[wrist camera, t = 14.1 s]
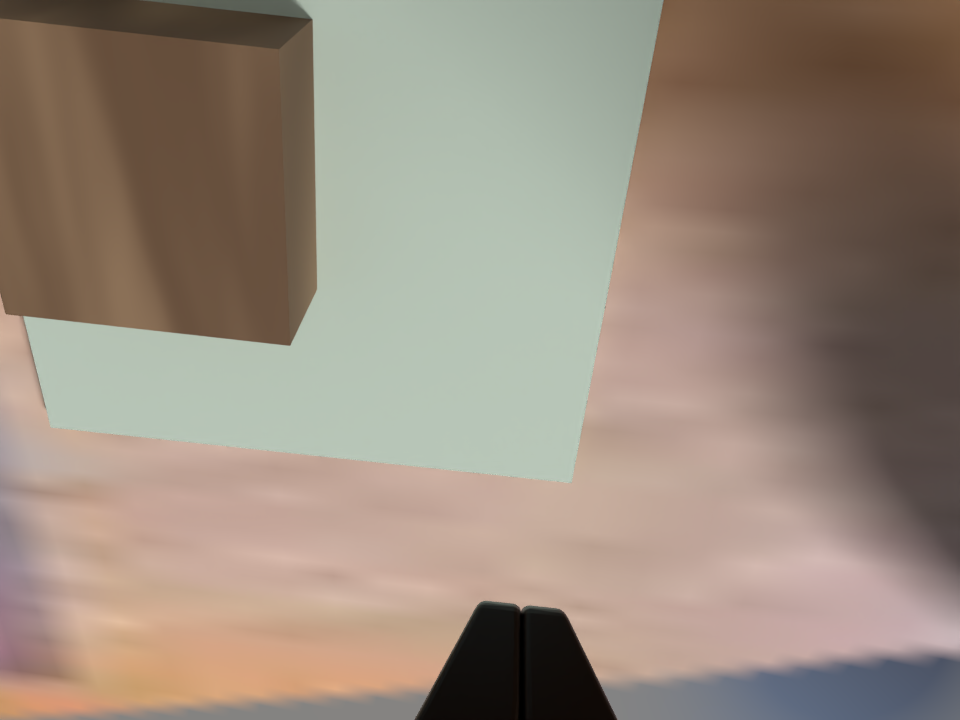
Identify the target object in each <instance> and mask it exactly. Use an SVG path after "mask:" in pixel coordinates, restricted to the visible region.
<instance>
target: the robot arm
mask: <svg viewBox="0 0 960 720" xmlns="http://www.w3.org/2000/svg"><path fill="white" fill-rule="evenodd" d="M415 720H617V718H616V716H615V714H614V711H613V709H612V708H611V706H610V703H609V701H608V699H607V697H606V695H605V693H604V691H603V689H602V687H601V685H600V683H599V681H598V679H597V677H596V675H595V672H594V670H593V668H592V666H591V664H590V662H589V660H588V658H587V656H586V654H585V652H584V650H583V648H582V646H581V644H580V642H579V640H578V638H577V636H576V633H575V631H574V629H573V627H572V625H571V623H570V621H569V619H568V617H567V616H566V614H565V613H564V612H563V611H562V610H560V609H557V608H548V607H538V606H526V607H524V608H523V609H522V610H520V608H519V607H518V606H517V605H515V604H511V603H501V602H492V601H483V602H481V603H479V604H478V605H477V607H476V608H475V610H474V612H473V614H472V616H471V617H470V619H469V621H468V623H467V625H466V627H465V628H464V630H463V632H462V634H461V636H460V638H459V639H458V641H457V643H456V645H455V647H454V649H453V650H452V652H451V654H450V656H449V658H448V660H447V661H446V663H445V665H444V667H443V669H442V671H441V672H440V674H439V676H438V678H437V680H436V681H435V683H434V685H433V687H432V689H431V691H430V692H429V694H428V696H427V698H426V700H425V702H424V704H423V705H422V707H421V709H420V711H419V713H418V714H417V716H416V718H415Z"/></svg>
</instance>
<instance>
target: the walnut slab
mask: <svg viewBox="0 0 960 720" xmlns="http://www.w3.org/2000/svg"><path fill="white" fill-rule="evenodd" d="M316 291H317V249H316V189H315V129H314V69H313V19H306V18H297V17H288V16H279V15H270V14H261V13H251V12H242V11H233V10H224V9H215V8H206V7H197V6H188V5H179V4H170V3H161V2H152V1H143V0H0V294H1V298H2V301H3V305H4V309H5V313H6V314H9V315H18V316H27V317H36V318H45V319H54V320H63V321H72V322H81V323H90V324H99V325H108V326H116V327H125V328H134V329H143V330H152V331H161V332H170V333H179V334H188V335H197V336H206V337H215V338H224V339H233V340H242V341H250V342H259V343H268V344H277V345H286V346H290V345H291V343H292V341H293V339H294V337H295V335H296V333H297V331H298V329H299V326H300V324H301V322H302V320H303V318H304V316H305V314H306V312H307V310H308V308H309V305H310V303H311V301H312V299H313V297H314V295H315V293H316Z"/></svg>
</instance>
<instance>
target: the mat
mask: <svg viewBox="0 0 960 720" xmlns="http://www.w3.org/2000/svg"><path fill="white" fill-rule="evenodd" d="M143 1H152V2H161V3H170V4H179V5H188V6H197V7H206V8H215V9H224V10H233V11H242V12H251V13H261V14H270V15H279V16H288V17H297V18H306V19H313V69H314V129H315V189H316V249H317V291H316V293H315V295H314V297H313V299H312V301H311V303H310V305H309V308H308V310H307V312H306V314H305V316H304V318H303V320H302V322H301V324H300V326H299V329H298V331H297V333H296V335H295V337H294V339H293V341H292V343H291V345H290V346H286V345H277V344H268V343H259V342H250V341H242V340H233V339H224V338H215V337H206V336H197V335H188V334H179V333H170V332H161V331H152V330H143V329H134V328H125V327H116V326H108V325H99V324H90V323H81V322H72V321H63V320H54V319H45V318H36V317H27V316H23V317H24V321H25V325H26V329H27V333H28V337H29V341H30V345H31V349H32V353H33V357H34V361H35V365H36V370H37V374H38V378H39V382H40V386H41V390H42V394H43V398H44V402H45V406H46V410H47V414H48V418H49V422H50V426H51V427H52V428H61V429H70V430H80V431H89V432H98V433H108V434H117V435H127V436H136V437H145V438H155V439H164V440H173V441H183V442H192V443H201V444H211V445H220V446H230V447H239V448H248V449H258V450H267V451H276V452H286V453H295V454H304V455H314V456H323V457H333V458H342V459H351V460H361V461H370V462H379V463H389V464H398V465H407V466H417V467H426V468H436V469H445V470H454V471H464V472H473V473H482V474H492V475H501V476H510V477H520V478H529V479H539V480H548V481H557V482H567V483H572V477H573V472H574V467H575V462H576V456H577V451H578V446H579V441H580V435H581V430H582V425H583V420H584V414H585V409H586V404H587V399H588V393H589V388H590V383H591V378H592V372H593V367H594V362H595V357H596V351H597V346H598V341H599V336H600V330H601V325H602V320H603V315H604V309H605V304H606V299H607V294H608V289H609V283H610V278H611V273H612V268H613V262H614V257H615V252H616V247H617V241H618V236H619V231H620V226H621V220H622V215H623V210H624V205H625V199H626V194H627V189H628V184H629V178H630V173H631V168H632V163H633V157H634V152H635V147H636V142H637V136H638V131H639V126H640V121H641V115H642V110H643V105H644V100H645V94H646V89H647V84H648V79H649V74H650V68H651V63H652V58H653V53H654V47H655V42H656V37H657V32H658V26H659V21H660V16H661V11H662V5H663V0H143Z"/></svg>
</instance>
